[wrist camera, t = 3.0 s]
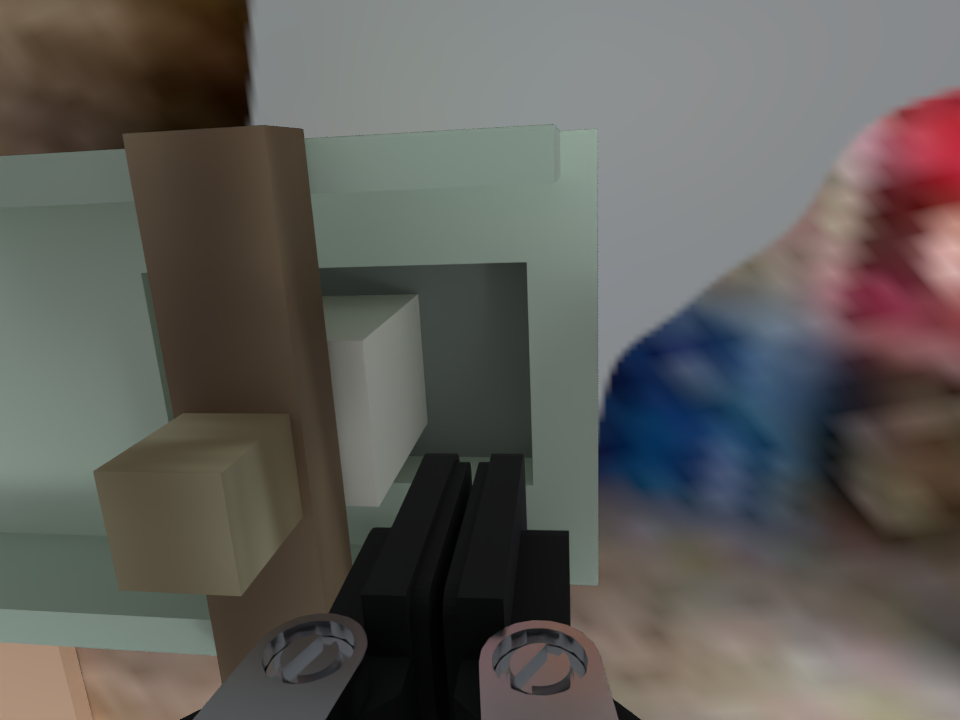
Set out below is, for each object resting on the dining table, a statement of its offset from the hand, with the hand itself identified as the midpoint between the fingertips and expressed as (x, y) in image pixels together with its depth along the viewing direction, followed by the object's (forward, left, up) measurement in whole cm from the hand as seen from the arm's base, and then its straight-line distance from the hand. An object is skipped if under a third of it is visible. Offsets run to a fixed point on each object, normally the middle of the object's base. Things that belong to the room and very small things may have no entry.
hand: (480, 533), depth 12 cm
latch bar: (+6, 0, -5) cm, 8 cm away
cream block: (+6, 0, -12) cm, 13 cm away
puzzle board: (+11, 0, -12) cm, 16 cm away
